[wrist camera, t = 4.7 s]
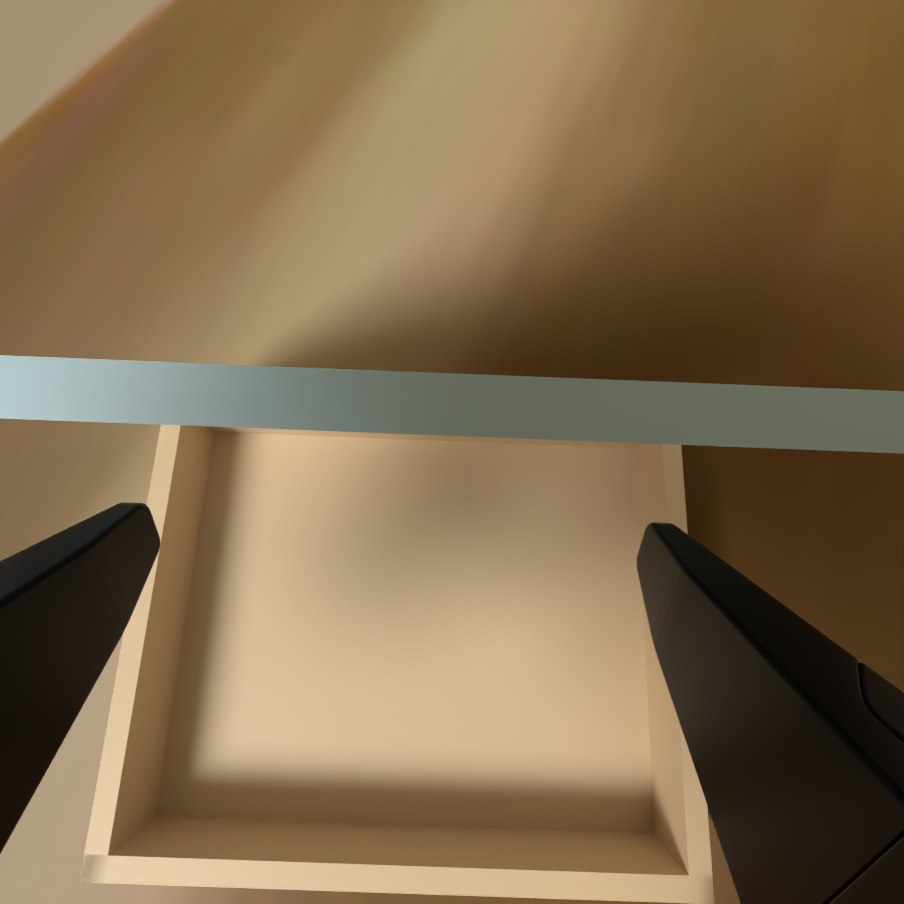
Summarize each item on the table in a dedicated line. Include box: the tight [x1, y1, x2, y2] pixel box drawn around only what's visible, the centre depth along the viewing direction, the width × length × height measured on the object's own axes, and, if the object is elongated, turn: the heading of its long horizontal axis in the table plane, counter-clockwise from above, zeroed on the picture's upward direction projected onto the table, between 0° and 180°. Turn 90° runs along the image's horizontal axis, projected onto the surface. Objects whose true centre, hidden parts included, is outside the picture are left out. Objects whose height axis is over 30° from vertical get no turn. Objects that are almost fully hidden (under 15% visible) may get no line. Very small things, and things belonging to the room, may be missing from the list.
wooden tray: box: [79, 425, 714, 904], centre depth 16 cm, size 13×16×2 cm
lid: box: [0, 355, 904, 454], centre depth 9 cm, size 12×16×1 cm
